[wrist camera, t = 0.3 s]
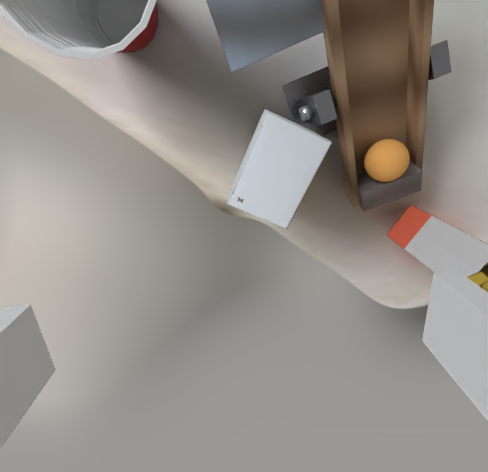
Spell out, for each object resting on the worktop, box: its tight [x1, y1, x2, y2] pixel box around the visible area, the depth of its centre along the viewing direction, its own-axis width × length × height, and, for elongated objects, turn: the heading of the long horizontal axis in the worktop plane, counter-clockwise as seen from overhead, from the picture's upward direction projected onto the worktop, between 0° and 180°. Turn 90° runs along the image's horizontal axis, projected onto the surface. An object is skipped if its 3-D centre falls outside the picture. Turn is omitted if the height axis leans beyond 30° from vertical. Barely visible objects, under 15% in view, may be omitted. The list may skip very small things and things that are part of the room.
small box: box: [227, 109, 332, 229], centre depth 29 cm, size 8×6×10 cm
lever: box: [206, 0, 434, 211], centre depth 27 cm, size 22×15×4 cm
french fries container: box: [387, 205, 488, 292], centre depth 30 cm, size 5×11×18 cm, turn 60°
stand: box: [283, 40, 451, 136], centre depth 29 cm, size 6×13×7 cm, turn 112°
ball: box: [364, 139, 410, 182], centre depth 30 cm, size 4×4×4 cm
